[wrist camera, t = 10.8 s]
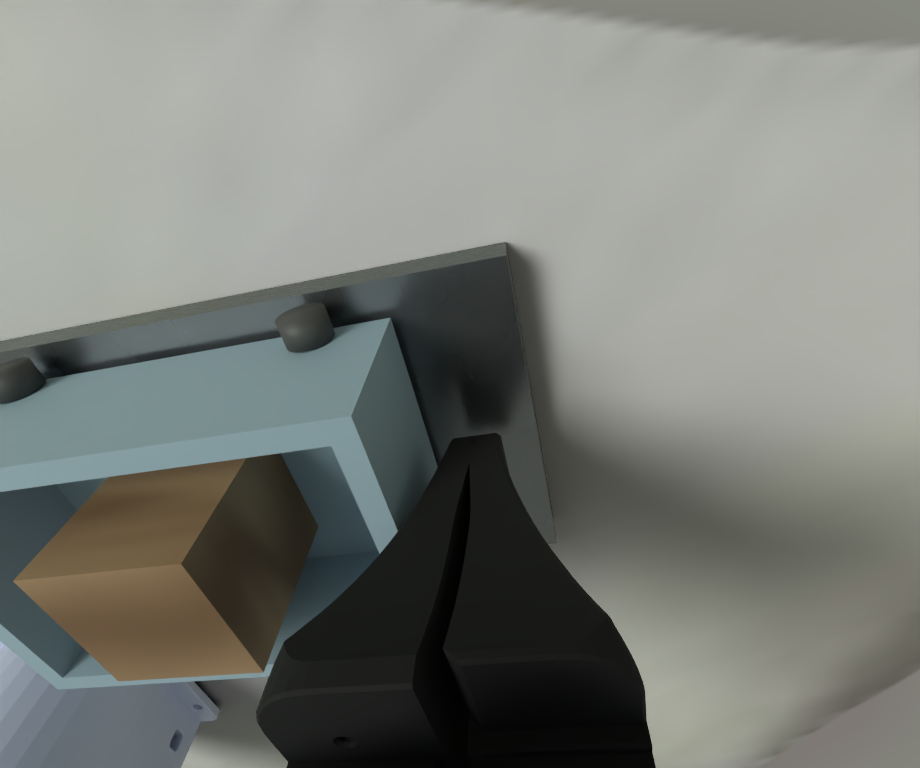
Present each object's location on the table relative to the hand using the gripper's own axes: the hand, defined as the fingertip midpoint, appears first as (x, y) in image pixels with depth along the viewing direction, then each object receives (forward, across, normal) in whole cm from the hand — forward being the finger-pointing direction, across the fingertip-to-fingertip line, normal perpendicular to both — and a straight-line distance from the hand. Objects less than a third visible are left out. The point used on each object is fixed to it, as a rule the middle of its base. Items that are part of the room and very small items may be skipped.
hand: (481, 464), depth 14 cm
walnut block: (0, +8, 0) cm, 8 cm away
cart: (+1, +8, 0) cm, 8 cm away
